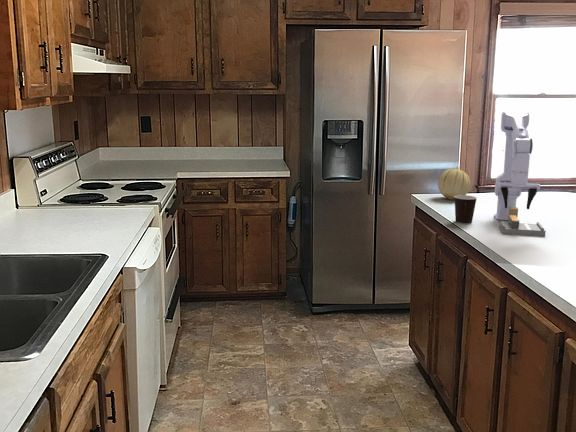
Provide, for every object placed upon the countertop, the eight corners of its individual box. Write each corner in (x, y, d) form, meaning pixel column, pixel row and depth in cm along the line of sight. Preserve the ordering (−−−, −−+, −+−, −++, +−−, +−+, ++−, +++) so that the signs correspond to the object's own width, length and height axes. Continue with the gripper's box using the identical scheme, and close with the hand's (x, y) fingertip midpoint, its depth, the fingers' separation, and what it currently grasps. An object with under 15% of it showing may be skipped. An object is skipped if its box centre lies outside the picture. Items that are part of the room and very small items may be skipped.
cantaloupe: (436, 201, 299) (437, 169, 296) (438, 195, 313) (440, 164, 309) (468, 203, 295) (471, 170, 291) (469, 197, 308) (471, 166, 305)
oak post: (507, 224, 254) (509, 206, 252) (515, 224, 253) (517, 207, 252) (508, 225, 251) (510, 208, 249) (516, 226, 250) (518, 208, 249)
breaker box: (498, 227, 249) (499, 220, 248) (539, 229, 246) (540, 222, 245) (502, 234, 238) (503, 226, 238) (545, 236, 235) (545, 228, 235)
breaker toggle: (508, 222, 247) (509, 215, 246) (515, 223, 246) (515, 215, 246) (511, 228, 238) (512, 220, 237) (518, 228, 238) (519, 220, 237)
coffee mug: (458, 218, 264) (459, 194, 261) (478, 221, 258) (480, 197, 256) (445, 223, 255) (447, 198, 253) (466, 226, 249) (467, 201, 247)
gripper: (500, 172, 230) (497, 209, 233) (542, 174, 227) (539, 211, 230) (498, 169, 237) (495, 205, 240) (540, 171, 233) (536, 207, 236)
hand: (516, 208), depth 235 cm, fingers open, 7 cm apart
